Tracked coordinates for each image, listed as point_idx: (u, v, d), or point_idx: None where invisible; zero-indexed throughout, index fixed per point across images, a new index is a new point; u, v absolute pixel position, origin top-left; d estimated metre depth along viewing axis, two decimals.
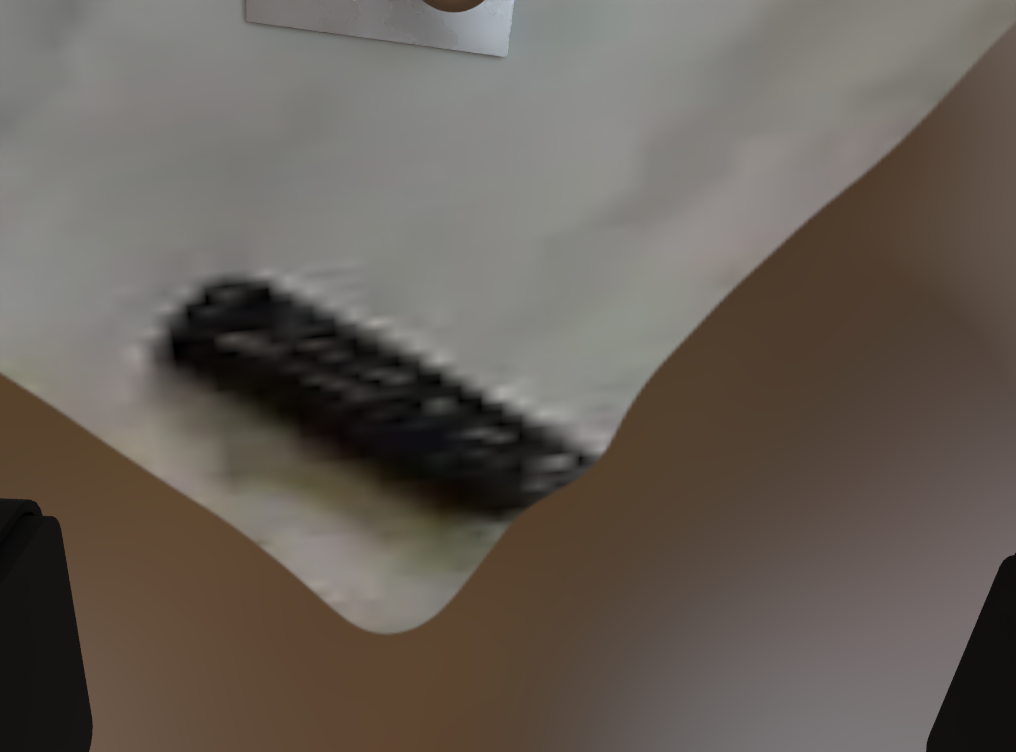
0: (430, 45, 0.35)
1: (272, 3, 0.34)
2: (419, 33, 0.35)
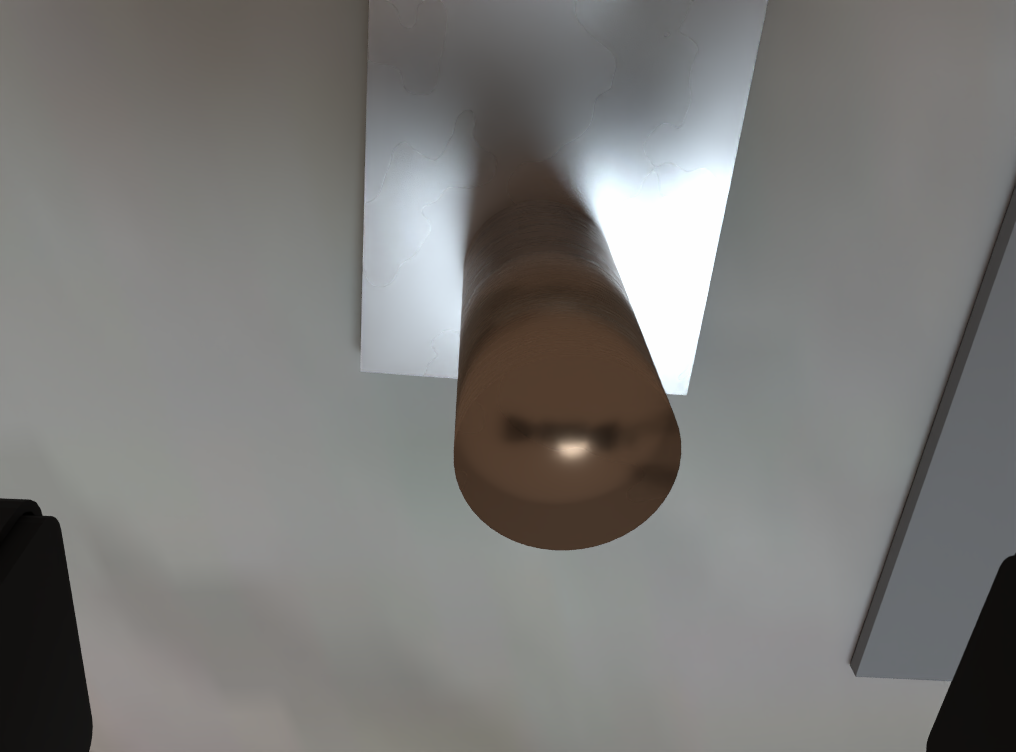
0: (365, 235, 0.18)
1: None
2: (386, 213, 0.18)
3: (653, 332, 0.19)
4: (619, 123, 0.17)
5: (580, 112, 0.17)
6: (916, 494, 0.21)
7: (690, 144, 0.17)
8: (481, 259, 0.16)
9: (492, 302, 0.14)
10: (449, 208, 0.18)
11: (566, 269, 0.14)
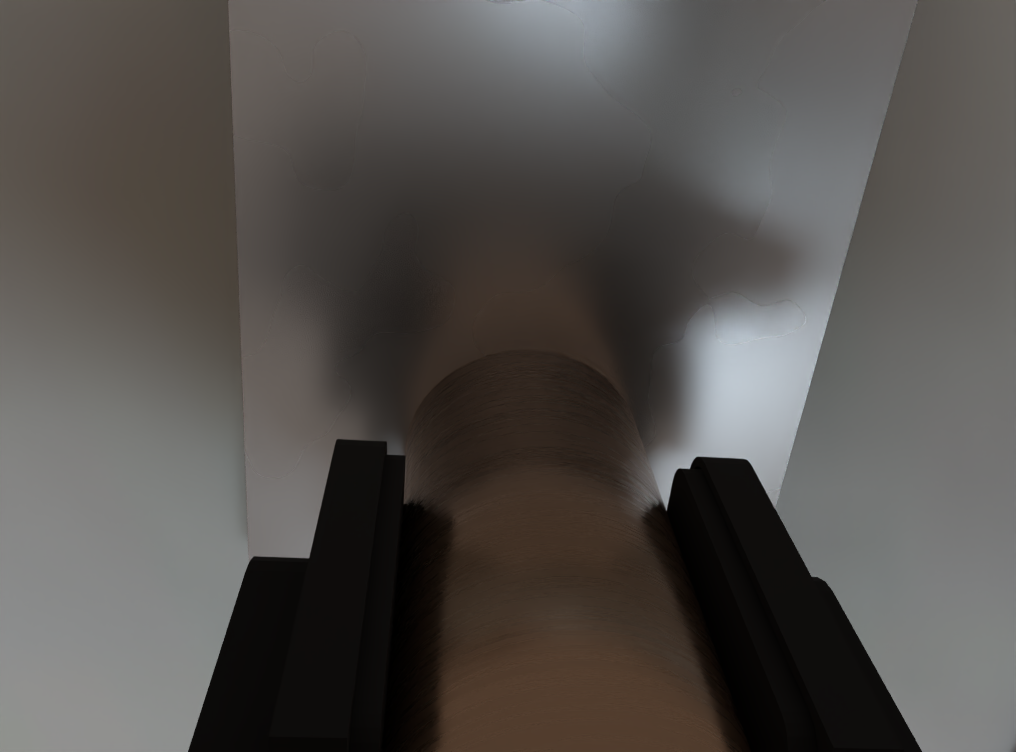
0: (247, 405, 0.11)
1: None
2: (277, 373, 0.11)
3: None
4: (654, 233, 0.10)
5: (591, 216, 0.10)
6: None
7: (767, 264, 0.11)
8: (427, 478, 0.09)
9: (438, 627, 0.07)
10: (380, 364, 0.11)
11: (580, 547, 0.08)
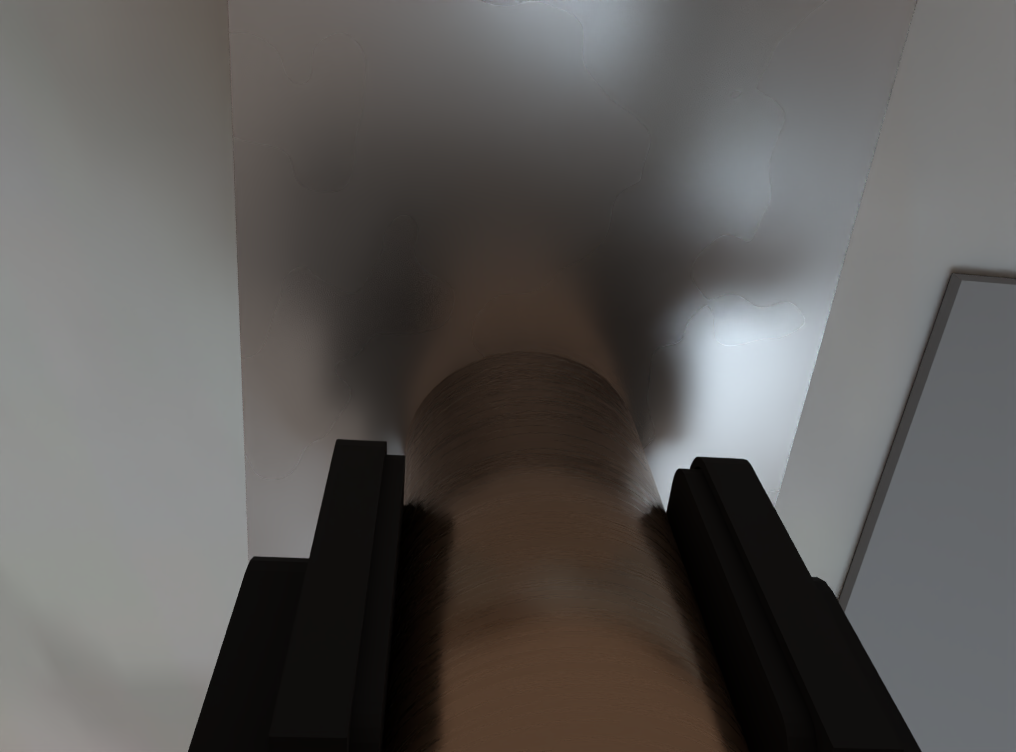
0: (247, 406, 0.11)
1: None
2: (277, 374, 0.11)
3: None
4: (653, 235, 0.10)
5: (591, 218, 0.10)
6: (847, 594, 0.22)
7: (767, 266, 0.11)
8: (427, 479, 0.09)
9: (438, 627, 0.07)
10: (379, 365, 0.11)
11: (579, 549, 0.08)
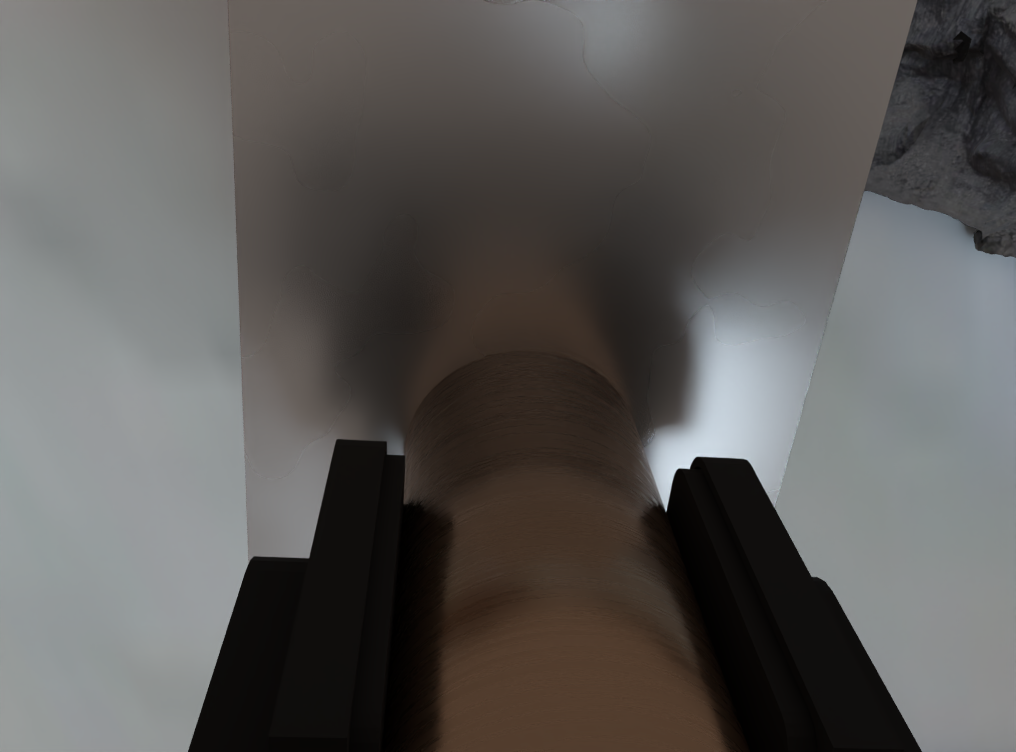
0: (247, 406, 0.11)
1: None
2: (277, 373, 0.11)
3: None
4: (653, 234, 0.10)
5: (591, 217, 0.10)
6: None
7: (766, 265, 0.11)
8: (426, 478, 0.09)
9: (438, 626, 0.07)
10: (379, 364, 0.11)
11: (579, 546, 0.08)
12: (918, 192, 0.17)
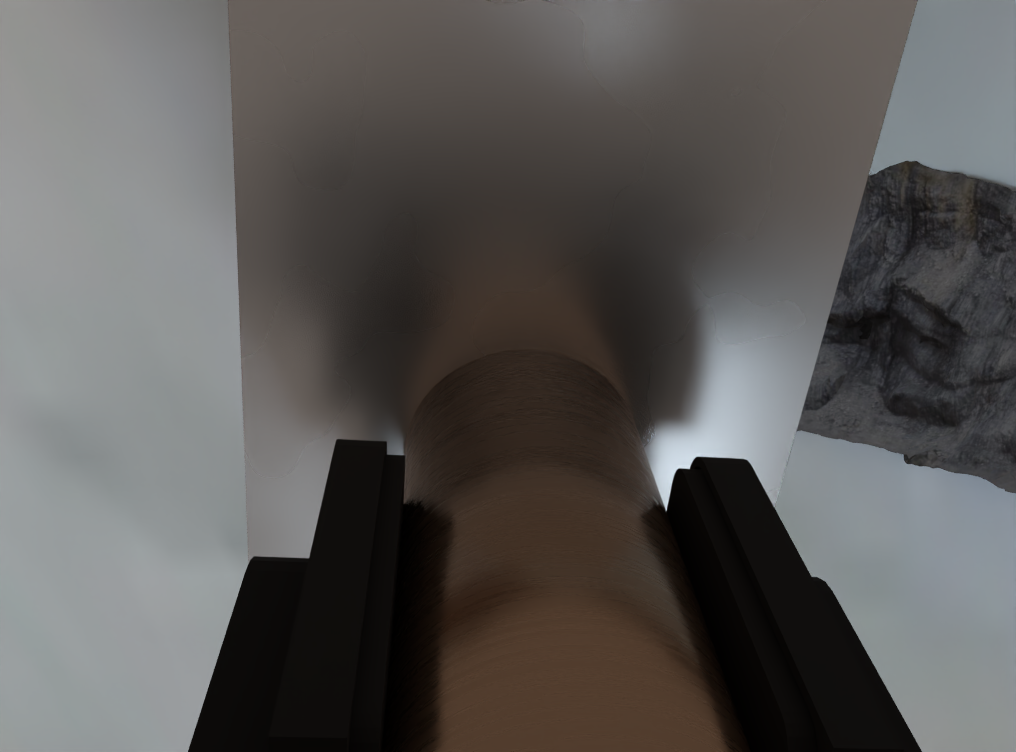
0: (246, 404, 0.11)
1: None
2: (277, 372, 0.11)
3: None
4: (654, 233, 0.10)
5: (591, 216, 0.10)
6: None
7: (767, 264, 0.11)
8: (427, 477, 0.09)
9: (438, 627, 0.07)
10: (379, 363, 0.11)
11: (579, 545, 0.08)
12: (845, 428, 0.19)
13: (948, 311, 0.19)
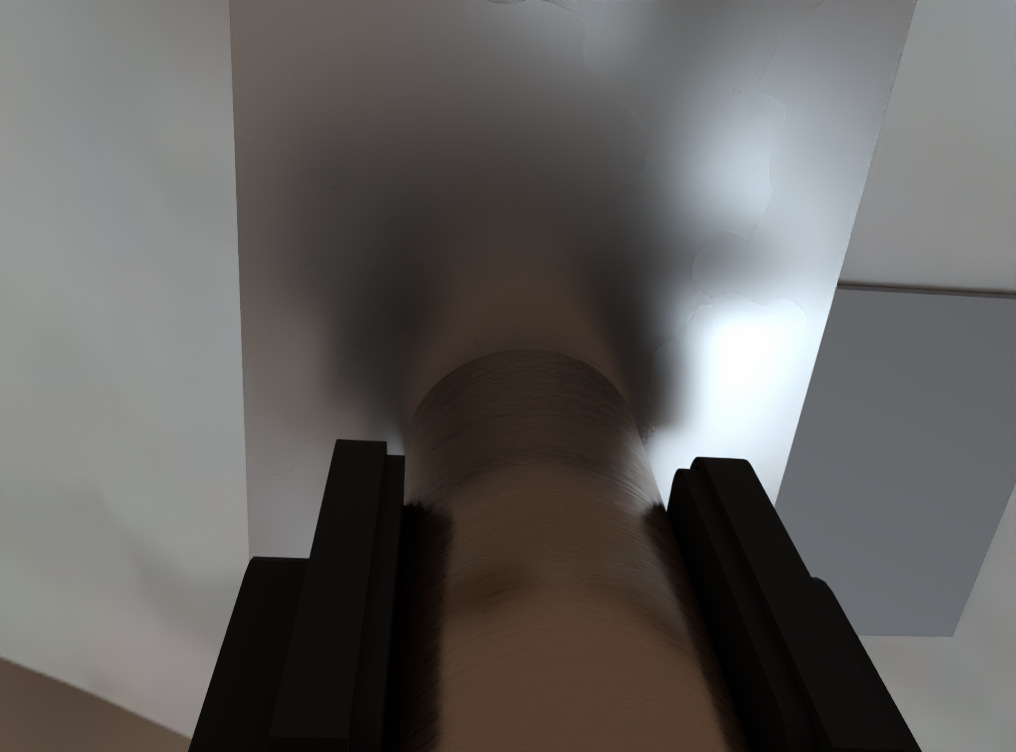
0: (247, 403, 0.11)
1: None
2: (278, 371, 0.11)
3: None
4: (653, 232, 0.10)
5: (591, 216, 0.10)
6: None
7: (766, 263, 0.11)
8: (427, 476, 0.09)
9: (438, 623, 0.07)
10: (380, 362, 0.11)
11: (580, 544, 0.08)
12: None
13: None
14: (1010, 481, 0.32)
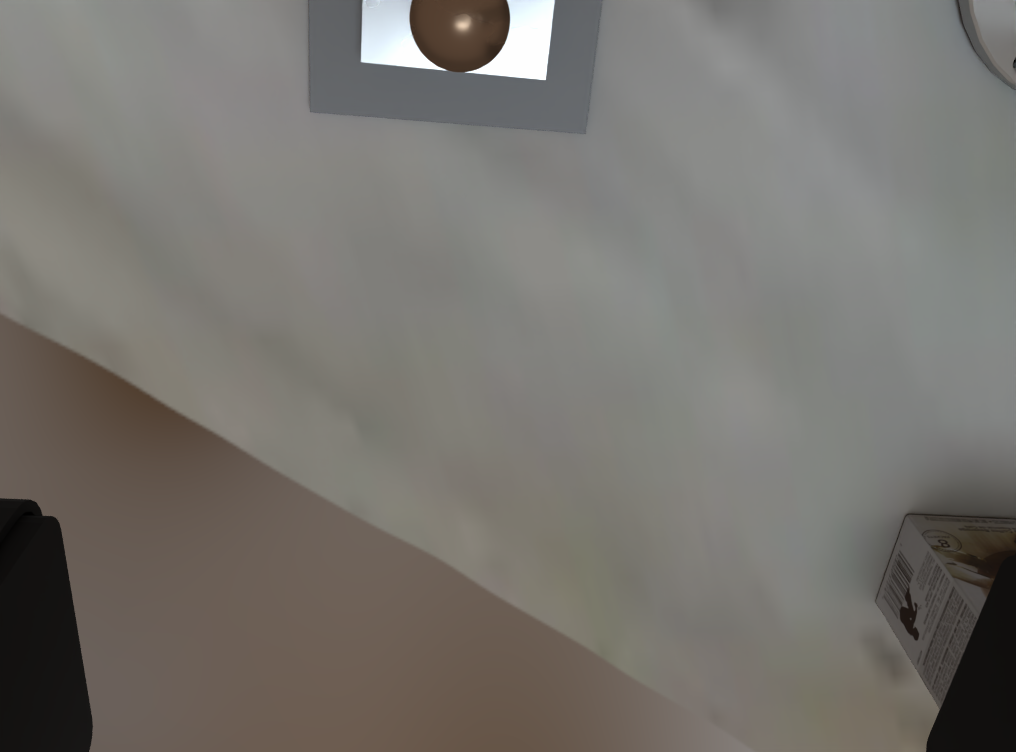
0: None
1: None
2: None
3: (524, 38, 0.34)
4: None
5: None
6: None
7: None
8: None
9: None
10: None
11: None
12: None
13: None
14: None
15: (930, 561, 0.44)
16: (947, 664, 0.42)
